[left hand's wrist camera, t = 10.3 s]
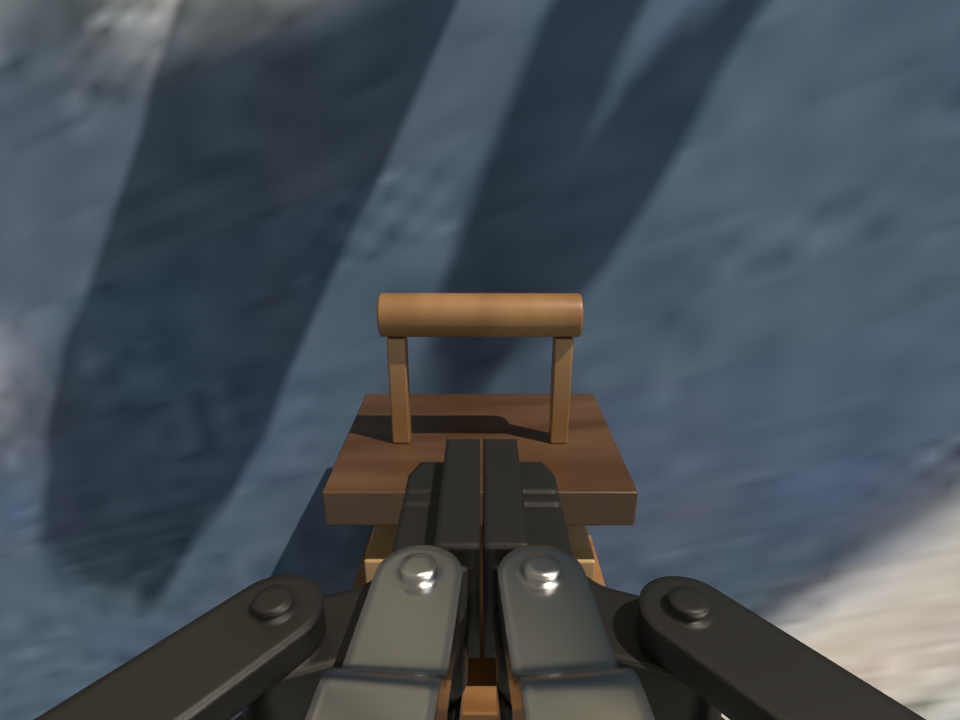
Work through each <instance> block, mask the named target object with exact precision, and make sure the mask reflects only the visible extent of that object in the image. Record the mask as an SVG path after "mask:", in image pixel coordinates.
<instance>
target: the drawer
mask: <svg viewBox="0 0 960 720" xmlns="http://www.w3.org/2000/svg"><path fill="white" fill-rule="evenodd" d="M377 325H378V331H379V334H380V336H382V337H388V338H387V354H388V372H389V389H390V394H366V396H365V398H364V400H363V403H362V405H361V407H360V409H359V411H358V414H357V416H356V418H355V420H354V423H353V425H352V427H351V429H350V431H349V434H348V436H347V438H346V440H345V443H344V445H343V447H342V449H341V452H340V454H339V456H338V458H337V460H336V463H335V465H334V467H333V469H332V472H331V474H330V476H329V478H328V481H327V483H326V485H325V487H324V489H323V492H322V497H323V506H324V515H325V523H326V525H374V527H373V531H372V534H371V538H370V542H369V545H368V549H367V553H366V556H365V560H364V567H365V579H366V583H368V582H370V581H371V580H373V577H374V574H375V571H376V569H377V567H378V565H379V564H380V563H381V561H382V560H383V559H384V558H386V557H387V556H388V555H390V554H391V553H392V550H393V545H394V541H395V536H396V531H397V527H398V522H399V517H400V512H401V508H402V503H403V498H404V494H405V489H406V484H407V480H408V475H409V474H410V473H411V472H412V471H413V470H414V469H415V468H416V467H417V466H418V465H419V464H420V463H421V462H444V455H445V446H446V439H480V658H468V679H467V685H466V686H496V658H484V617H483V439H517V446H518V454H519V462H542V463H543V464H544V465H545V466H546V467H547V468H548V469H549V470H550V471H551V472H552V473H553V474H554V475H555V479H556V484H557V488H558V494H559V497H560V502H561V507H562V511H563V515H564V519H565V524H566V528H567V533H568V537H569V542H570V546H571V551H572V555H573V557H574V558H576V559H577V560H578V561H579V563H580V564H581V565H582V567H583V569H584V571H585V574H586V576H587V577H589V578H590V579H592V580H593V581H594V573H595V558H594V555H593V551H592V547H591V544H590V540H589V536H588V533H587V529H586V526H585V525H634V522H635V514H636V505H637V496H638V492H637V490H636V488H635V485H634V483H633V481H632V479H631V477H630V474H629V472H628V470H627V468H626V465H625V463H624V461H623V459H622V457H621V454H620V452H619V450H618V448H617V445H616V443H615V441H614V439H613V437H612V434H611V432H610V430H609V428H608V425H607V423H606V421H605V419H604V417H603V414H602V412H601V410H600V408H599V405H598V403H597V401H596V399H595V397H594V395H593V394H570V391H571V375H572V358H573V342H574V340H573V338H572V337H579V336H580V335H581V332H582V328H583V300H582V297H581V295H580V294H578V293H381V294H380V295H379V298H378V302H377ZM407 337H553V349H552V370H551V391H550V394H410V390H409V367H408V345H407Z"/></svg>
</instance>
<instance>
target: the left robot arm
mask: <svg viewBox="0 0 960 720" xmlns="http://www.w3.org/2000/svg"><path fill="white" fill-rule="evenodd" d="M483 617H484V658H496V707H497V716H498V720H725V719H724V718H722V717H721V714H724V715H725V716H726V717H728V718H729V719H730V720H926V719H924V718H922V717H921V716H919V715H918V714H916V713H914V712H913V711H911V710H910V709H908V708H906V707H905V706H903V705H902V704H900V703H898V702H897V701H895V700H893V699H892V698H890V697H889V696H887V695H885V694H884V693H882V692H881V691H879V690H877V689H876V688H874V687H873V686H871V685H869V684H868V683H866V682H864V681H863V680H861V679H860V678H858V677H856V676H855V675H853V674H852V673H850V672H848V671H847V670H845V669H844V668H842V667H840V666H839V665H837V664H835V663H834V662H832V661H831V660H829V659H827V658H826V657H824V656H823V655H821V654H819V653H818V652H816V651H815V650H813V649H811V648H810V647H808V646H807V645H805V644H803V643H802V642H800V641H798V640H797V639H795V638H794V637H792V636H790V635H789V634H787V633H786V632H784V631H782V630H781V629H779V628H778V627H776V626H774V625H773V624H771V623H769V622H768V621H766V620H765V619H763V618H761V617H760V616H758V615H757V614H755V613H753V612H752V611H750V610H749V609H747V608H745V607H744V606H742V605H740V604H739V603H737V602H736V601H734V600H732V599H731V598H729V597H728V596H726V595H724V594H723V593H721V592H720V591H718V590H716V589H715V588H713V587H711V586H709V585H707V584H705V583H703V582H700V581H698V580H695V579H691V578H686V577H679V576H667V577H661V578H658V579H655V580H653V581H651V582H649V583H648V584H647V585H646V586H645V587H644V588H643V589H642V591H641V593H640V596H638V595H633V594H629V593H625V592H621V591H617V590H614V589H610V588H607V587H605V586H603V585H600V584H598V583H597V582H595V581H593V580H592V579H590V578H589V577H587V576H586V574H585V571H584V569H583V567H582V565H581V564H580V563H579V561H578V560H577V559H576V558H574V557H573V555H572V551H571V546H570V542H569V537H568V533H567V528H566V524H565V519H564V515H563V511H562V507H561V502H560V497H559V494H558V488H557V484H556V479H555V475H554V474H553V473H552V472H551V471H550V470H549V469H548V468H547V467H546V466H545V465H544V464H543V463H542V462H519V454H518V446H517V439H483ZM468 658H480V439H446V446H445V455H444V462H421V463H420V464H419V465H418V466H417V467H416V468H415V469H414V470H413V471H412V472H411V473H410V474H409V475H408V480H407V484H406V489H405V494H404V498H403V503H402V508H401V512H400V517H399V522H398V527H397V531H396V536H395V541H394V545H393V550H392V553H391V554H390V555H388V556H387V557H386V558H384V559H383V560H382V561H381V563H380V564H379V565H378V567H377V569H376V571H375V574H374V577H373V580H371V581H370V582H368V583H366V584H364V585H362V586H360V587H357V588H355V589H351V590H348V591H344V592H340V593H336V594H332V595H328V596H323V595H322V592H321V589H320V588H319V586H318V585H317V584H316V583H315V582H313V581H312V580H310V579H308V578H305V577H302V576H297V575H279V576H274V577H270V578H266V579H263V580H261V581H258V582H256V583H254V584H252V585H250V586H249V587H247V588H245V589H244V590H242V591H240V592H239V593H237V594H236V595H234V596H232V597H231V598H229V599H228V600H226V601H224V602H223V603H221V604H220V605H218V606H216V607H215V608H213V609H211V610H210V611H208V612H207V613H205V614H203V615H202V616H200V617H199V618H197V619H195V620H194V621H192V622H191V623H189V624H187V625H186V626H184V627H183V628H181V629H179V630H178V631H176V632H174V633H173V634H171V635H170V636H168V637H166V638H165V639H163V640H162V641H160V642H158V643H157V644H155V645H154V646H152V647H150V648H149V649H147V650H145V651H144V652H142V653H141V654H139V655H137V656H136V657H134V658H133V659H131V660H129V661H128V662H126V663H125V664H123V665H121V666H120V667H118V668H116V669H115V670H113V671H112V672H110V673H108V674H107V675H105V676H104V677H102V678H100V679H99V680H97V681H96V682H94V683H92V684H91V685H89V686H87V687H86V688H84V689H83V690H81V691H79V692H78V693H76V694H75V695H73V696H71V697H70V698H68V699H67V700H65V701H63V702H62V703H60V704H58V705H57V706H55V707H54V708H52V709H50V710H49V711H47V712H46V713H44V714H42V715H41V716H39V717H38V718H36V719H34V720H230V719H231V718H232V717H234V716H235V715H236V714H238V713H239V712H240V711H241V710H242V712H243V714H242V715H240V716H239V717H238V718H236V719H235V720H462V716H463V707H464V690H465V688H466V685H467V679H468Z"/></svg>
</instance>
